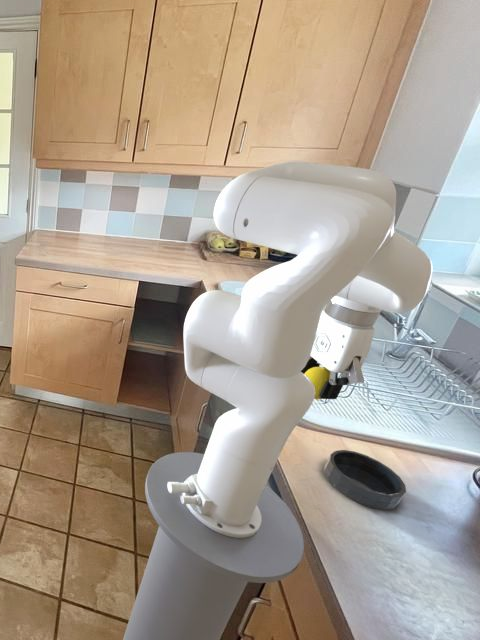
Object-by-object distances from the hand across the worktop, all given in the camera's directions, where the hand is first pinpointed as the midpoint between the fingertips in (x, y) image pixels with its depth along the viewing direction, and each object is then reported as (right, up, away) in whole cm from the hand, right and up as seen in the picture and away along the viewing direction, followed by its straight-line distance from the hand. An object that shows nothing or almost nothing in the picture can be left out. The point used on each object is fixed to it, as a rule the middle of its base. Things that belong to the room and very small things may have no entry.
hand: (316, 387), depth 87 cm
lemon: (0, -3, +1) cm, 3 cm away
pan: (+5, -18, -4) cm, 20 cm away
